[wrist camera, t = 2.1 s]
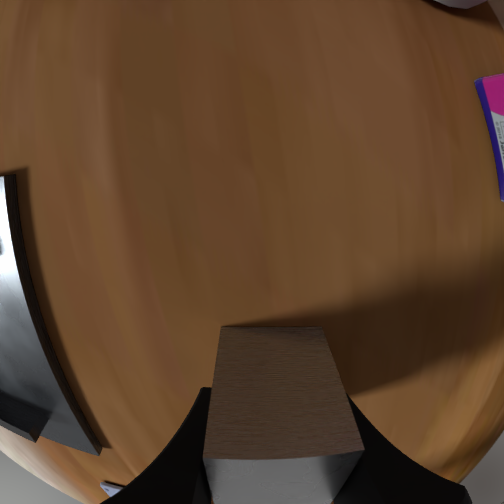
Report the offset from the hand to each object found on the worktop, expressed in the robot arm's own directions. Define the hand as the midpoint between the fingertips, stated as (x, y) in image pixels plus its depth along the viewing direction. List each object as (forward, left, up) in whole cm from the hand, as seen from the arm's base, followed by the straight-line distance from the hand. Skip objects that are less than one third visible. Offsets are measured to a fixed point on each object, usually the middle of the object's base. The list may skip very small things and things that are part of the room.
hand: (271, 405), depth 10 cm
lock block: (0, 0, -2) cm, 2 cm away
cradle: (0, +19, -2) cm, 19 cm away
